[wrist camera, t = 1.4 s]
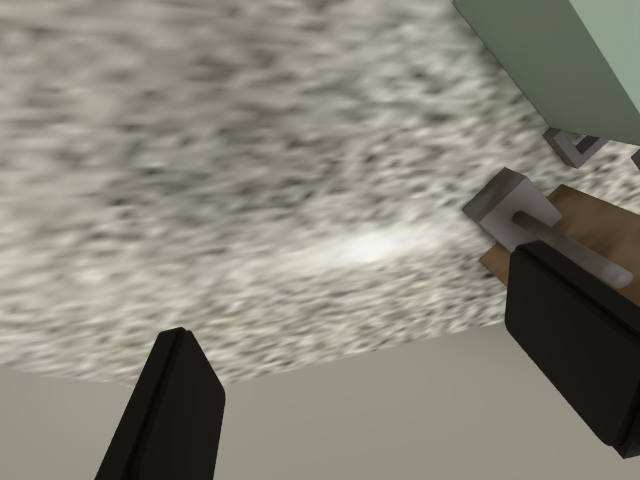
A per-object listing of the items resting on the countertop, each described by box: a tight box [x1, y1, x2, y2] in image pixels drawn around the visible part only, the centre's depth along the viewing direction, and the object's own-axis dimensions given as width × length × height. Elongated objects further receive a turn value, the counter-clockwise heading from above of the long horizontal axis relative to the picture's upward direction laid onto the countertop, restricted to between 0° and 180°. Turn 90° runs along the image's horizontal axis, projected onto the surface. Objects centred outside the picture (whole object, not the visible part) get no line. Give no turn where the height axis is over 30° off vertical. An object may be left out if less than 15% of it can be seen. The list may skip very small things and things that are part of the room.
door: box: [453, 0, 640, 170], centre depth 26 cm, size 5×21×11 cm, turn 51°
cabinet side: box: [462, 167, 640, 307], centre depth 29 cm, size 12×10×20 cm
